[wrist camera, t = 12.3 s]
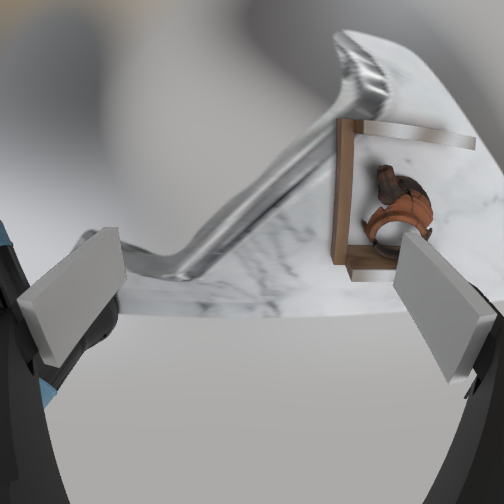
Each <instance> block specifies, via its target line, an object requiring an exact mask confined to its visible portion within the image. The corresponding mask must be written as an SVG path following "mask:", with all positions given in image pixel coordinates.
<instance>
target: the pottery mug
mask: <svg viewBox="0 0 504 504" xmlns="http://www.w3.org/2000/svg"><path fill="white" fill-rule="evenodd" d="M377 177H378V182H379V186H378V187H379V191H378V198H379V200H380V201H381V203H383V204H384V205H389V206H388V207H387V208H386V209H385V210H384V209H383V208H382V207H379V208H378V209H377V210H376V212H375V213H374V214H373V215H372V217H371V218H370V220H369V222H368V224H367V223H366V222H365V221H363V227H364V231H365V233H366V235H367V237H368V238H369V239H370V240H371V242H372V243H373V249H374V250H375V251H376V252H377V253H378V254H380V255H381V256H383V257H385V258H388V259H394V260H398V259H399V254H400V250H395V249H391V248H387V247H385V246H382V245H381V244H379V243H378V241H377V240H376V239H375V237H376V233H377V231H378V229H379V228H380V227H381V226H383V225H385V224H386V223H388V222H393V221H401V222H407V223H410V224H412V225H413V226H415V227H416V228H417V229H418V230H419V231H420V234H421V237H422V238H424V239H425V240H426V241H427V242H428V239H429V237H430V236H431V233H432V228H430V229H429V230H427V229H426V228H427V227H428V226H429V224H430V223H431V222H432V220H433V211H432V209H431V202H430V200H429V198H428V196H427V193H426V192H425V191H424V190H423V189H422V187H421V186H420V184H418V183H417V182H416V181H415V180H413V179H411V178H409V177H404V176H397V177H396V176H395V175H394V170H393V167H392V166H389V165H383V166H380V167H379V169H378V171H377ZM405 190H407V192H408V194H409V195H408V194H405V192H404V191H405Z"/></svg>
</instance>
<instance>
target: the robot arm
mask: <svg viewBox="0 0 504 504" xmlns="http://www.w3.org/2000/svg"><path fill="white" fill-rule="evenodd" d="M126 280H127V276H126V271H125V266H124V261H123V255H122V250H121V244H120V238H119V232H118V227H104V228H103V229H101V230H100V231H99V232H97V233H96V234H95V235H93V236H92V237H91V238H89V239H88V240H87V241H86V242H84V243H83V244H82V245H80V246H79V247H78V248H77V249H75V250H74V251H73V252H71V253H70V254H69V255H68V256H67V257H65V258H64V259H63V260H62V261H60V262H59V263H58V264H57V265H55V266H54V267H53V268H52V269H51V270H49V271H48V272H47V273H46V274H45V275H44V276H42V277H41V278H40V279H39V280H38V281H37V282H35V283H34V284H33V285H32V286H31V287H30V285H29V283H28V281H27V279H26V277H25V274H24V272H23V270H22V268H21V266H20V263H19V261H18V258H17V256H16V253H15V251H14V248H13V243H12V242H11V241H10V239H9V237H8V234H7V233H6V230H5V228H4V225H3V223H2V222H1V220H0V504H70V502H69V500H68V497H67V494H66V491H65V489H64V485H63V482H62V479H61V476H60V473H59V470H58V466H57V463H56V459H55V456H54V452H53V448H52V445H51V440H50V437H49V432H48V428H47V423H46V418H45V413H44V408H45V407H46V406H47V405H48V403H49V402H50V401H51V400H52V398H53V397H54V396H55V395H57V391H58V390H59V388H60V387H61V385H62V384H63V382H64V380H65V379H66V378H67V376H68V375H69V373H70V372H71V370H72V369H73V367H74V366H75V364H76V363H77V361H78V360H79V358H80V357H81V356H82V354H83V353H84V351H86V350H87V349H89V348H90V347H92V346H94V345H95V344H97V343H98V342H100V341H102V340H104V339H105V338H107V337H108V336H109V334H110V333H111V332H112V330H113V329H114V327H115V326H116V323H117V320H118V309H117V305H116V301H115V299H114V295H115V293H116V292H117V291H118V290H119V288H120V287H121V286H122V285H123V283H124V282H125V281H126ZM393 287H394V288H395V290H396V292H397V293H398V295H399V296H400V298H401V300H402V301H403V303H404V305H405V306H406V308H407V310H408V311H409V313H410V315H411V316H412V318H413V320H414V321H415V323H416V325H417V327H418V328H419V330H420V332H421V334H422V336H423V337H424V339H425V341H426V343H427V345H428V346H429V348H430V350H431V352H432V354H433V356H434V358H435V359H436V361H437V363H438V365H439V367H440V369H441V371H442V373H443V375H444V377H445V379H446V381H447V383H448V384H453V383H458V382H463V381H465V380H466V379H467V377H468V375H469V374H470V371H471V370H472V368H473V369H474V370H475V372H476V374H477V376H476V378H475V380H474V382H473V383H472V385H471V387H470V388H469V390H468V392H467V393H466V395H465V397H464V399H467V397H468V396H469V397H468V400H467V404H466V407H465V409H464V412H463V415H462V418H461V421H460V423H459V426H458V429H457V432H456V434H455V437H454V439H453V442H452V444H451V446H450V449H449V451H448V454H447V456H446V458H445V460H444V463H443V465H442V467H441V469H440V471H439V473H438V475H437V477H436V479H435V481H434V483H433V485H432V487H431V489H430V491H429V493H428V495H427V497H426V499H425V500H424V502H423V504H504V317H503V316H502V314H501V313H500V312H499V311H498V310H497V309H496V308H495V306H494V305H493V304H492V303H491V302H489V300H488V299H487V298H486V297H485V296H484V294H483V293H482V292H481V291H480V290H479V289H478V288H477V287H475V286H474V285H472V284H471V283H469V282H468V281H467V280H466V279H465V278H464V277H463V276H462V275H461V274H460V273H459V272H458V271H457V270H456V269H455V268H454V267H453V266H452V265H451V264H450V263H449V262H448V261H447V260H446V259H445V258H444V257H443V256H442V255H441V254H440V253H438V252H437V251H436V250H435V249H434V248H433V247H432V246H431V245H430V244H429V243H428V242H427V241H426V240H425V239H424V238H422V237H421V236H420V235H419V234H418V233H407V232H403V237H402V243H401V248H400V254H399V259H398V264H397V269H396V274H395V278H394V283H393Z"/></svg>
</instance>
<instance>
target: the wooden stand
mask: <svg viewBox="0 0 504 504" xmlns="http://www.w3.org/2000/svg"><path fill="white" fill-rule="evenodd" d="M354 132H355V133H359V134H365V135H376V136H385V137H394V138H403V139H411V140H418V141H425V142H432V143H438V144H444V145H450V146H455V147H461V148H466V149H471V150H475V144H476V137H471V136H467V135H462V134H457V133H452V132H447V131H442V130H436V129H430V128H424V127H418V126H411V125H404V124H397V123H389V122H380V121H370V120H353V119H337V154H336V182H335V202H334V218H333V232H332V245H331V258H332V261H333V264H334V265H345V266H346V268H347V271H348V274H349V276H350V279H351V282H394V278H395V274H396V269H397V264H398V260H394V259H388V258H385V257H383V256H381V255H380V254H378V253H377V252H376V251H375V250H374V249H373V246H369V245H347V244H348V234H349V223H350V210H351V197H352V180H353V160H354ZM385 247H387V248H391V249H395V250H400V248H401V246H385Z"/></svg>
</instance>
